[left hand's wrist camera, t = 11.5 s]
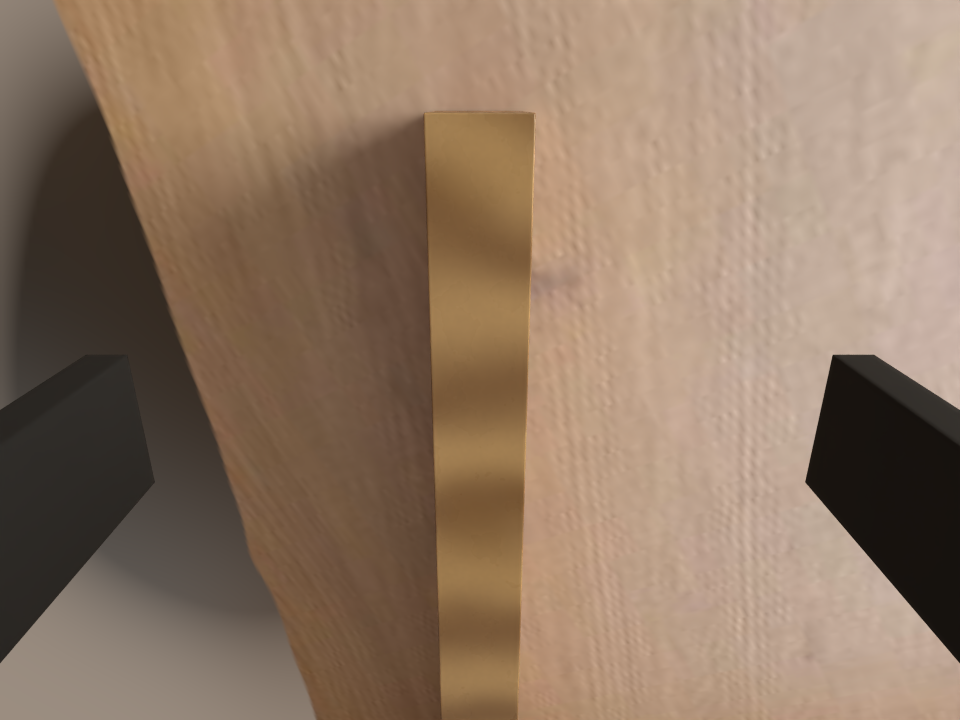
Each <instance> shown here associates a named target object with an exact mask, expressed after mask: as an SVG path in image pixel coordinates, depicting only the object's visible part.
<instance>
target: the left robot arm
mask: <svg viewBox="0 0 960 720" xmlns="http://www.w3.org/2000/svg"><path fill="white" fill-rule="evenodd" d="M154 482H155V481H154V477H153V472H152V467H151V463H150V458H149V453H148V449H147V444H146V440H145V435H144V430H143V426H142V421H141V416H140V412H139V407H138V403H137V398H136V393H135V389H134V384H133V379H132V375H131V370H130V366H129V361H128V356H127V355H85V356H84V357H82V358H80V359H79V360H77V361H76V362H74V363H73V364H71V365H70V366H68V367H66V368H65V369H63V370H62V371H60V372H59V373H57V374H56V375H54V376H52V377H51V378H49V379H48V380H46V381H45V382H43V383H42V384H40V385H38V386H37V387H35V388H34V389H32V390H31V391H29V392H28V393H26V394H25V395H23V396H21V397H20V398H18V399H17V400H15V401H14V402H12V403H10V404H9V405H7V406H6V407H4V408H3V409H1V410H0V663H1V662H2V660H3V659H4V658H5V657H6V656H7V654H8V653H9V652H10V651H11V650H12V649H13V648H14V646H15V645H16V644H17V643H18V642H19V641H20V639H21V638H22V637H23V636H24V635H25V633H26V632H27V631H28V630H29V629H30V628H31V626H32V625H33V624H34V623H35V622H36V621H37V619H38V618H39V617H40V616H41V615H42V614H43V612H44V611H45V610H46V609H47V608H48V607H49V605H50V604H51V603H52V602H53V601H54V599H55V598H56V597H57V596H58V595H59V594H60V593H61V591H62V590H63V589H64V588H65V587H66V585H67V584H68V583H69V582H70V581H71V580H72V578H73V577H74V576H75V575H76V574H77V573H78V571H79V570H80V569H81V568H82V567H83V566H84V564H85V563H86V562H87V561H88V560H89V559H90V557H91V556H92V555H93V554H94V553H95V552H96V550H97V549H98V548H99V547H100V546H101V544H102V543H103V542H104V541H105V540H106V539H107V537H108V536H109V535H110V534H111V533H112V532H113V530H114V529H115V528H116V527H117V526H118V525H119V523H120V522H121V521H122V520H123V519H124V518H125V516H126V515H127V514H128V513H129V512H130V511H131V509H132V508H133V507H134V506H135V505H136V503H137V502H138V501H139V500H140V499H141V498H142V496H143V495H144V494H145V493H146V492H147V491H148V489H149V488H150V487H151V486H152V485H153V484H154ZM805 482H806V484H807V485H808V486H809V487H810V488H811V489H812V491H813V492H814V493H815V494H816V495H817V497H818V498H819V499H820V500H821V501H822V502H823V504H824V505H825V506H826V507H827V508H828V509H829V511H830V512H831V513H832V514H833V515H834V516H835V518H836V519H837V520H838V521H839V522H840V523H841V525H842V526H843V527H844V528H845V529H846V530H847V532H848V533H849V534H850V535H851V536H852V537H853V539H854V540H855V541H856V542H857V543H858V545H859V546H860V547H861V548H862V549H863V550H864V552H865V553H866V554H867V555H868V556H869V557H870V559H871V560H872V561H873V562H874V563H875V564H876V566H877V567H878V568H879V569H880V570H881V571H882V573H883V574H884V575H885V576H886V577H887V578H888V580H889V581H890V582H891V583H892V584H893V585H894V587H895V588H896V589H897V590H898V591H899V593H900V594H901V595H902V596H903V597H904V598H905V600H906V601H907V602H908V603H909V604H910V605H911V607H912V608H913V609H914V610H915V611H916V612H917V614H918V615H919V616H920V617H921V618H922V619H923V621H924V622H925V623H926V624H927V625H928V626H929V628H930V629H931V630H932V631H933V632H934V633H935V635H936V636H937V637H938V638H939V639H940V641H941V642H942V643H943V644H944V645H945V646H946V648H947V649H948V650H949V651H950V652H951V653H952V655H953V656H954V657H955V658H956V659H957V660H958V662H959V663H960V410H959V409H957V408H956V407H954V406H953V405H951V404H950V403H948V402H946V401H945V400H943V399H942V398H940V397H939V396H937V395H936V394H934V393H932V392H931V391H929V390H928V389H926V388H925V387H923V386H922V385H920V384H918V383H917V382H915V381H914V380H912V379H911V378H909V377H908V376H906V375H904V374H903V373H901V372H900V371H898V370H897V369H895V368H894V367H892V366H891V365H889V364H887V363H886V362H884V361H883V360H881V359H880V358H878V357H877V356H875V355H833V356H832V361H831V365H830V370H829V375H828V379H827V384H826V389H825V393H824V398H823V403H822V407H821V412H820V416H819V421H818V426H817V430H816V435H815V440H814V444H813V449H812V453H811V458H810V463H809V467H808V472H807V477H806V481H805Z"/></svg>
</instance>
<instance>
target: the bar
mask: <svg viewBox="0 0 960 720" xmlns="http://www.w3.org/2000/svg"><path fill="white" fill-rule="evenodd" d="M535 126H536V114H535V113H532V112H524V111H434V112H427V113H424V144H425V179H426V213H427V248H428V283H429V317H430V352H431V387H432V421H433V456H434V491H435V525H436V560H437V595H438V629H439V664H440V699H441V720H518V690H519V657H520V624H521V591H522V557H523V524H524V491H525V458H526V425H527V391H528V358H529V325H530V292H531V259H532V225H533V192H534V159H535Z"/></svg>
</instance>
